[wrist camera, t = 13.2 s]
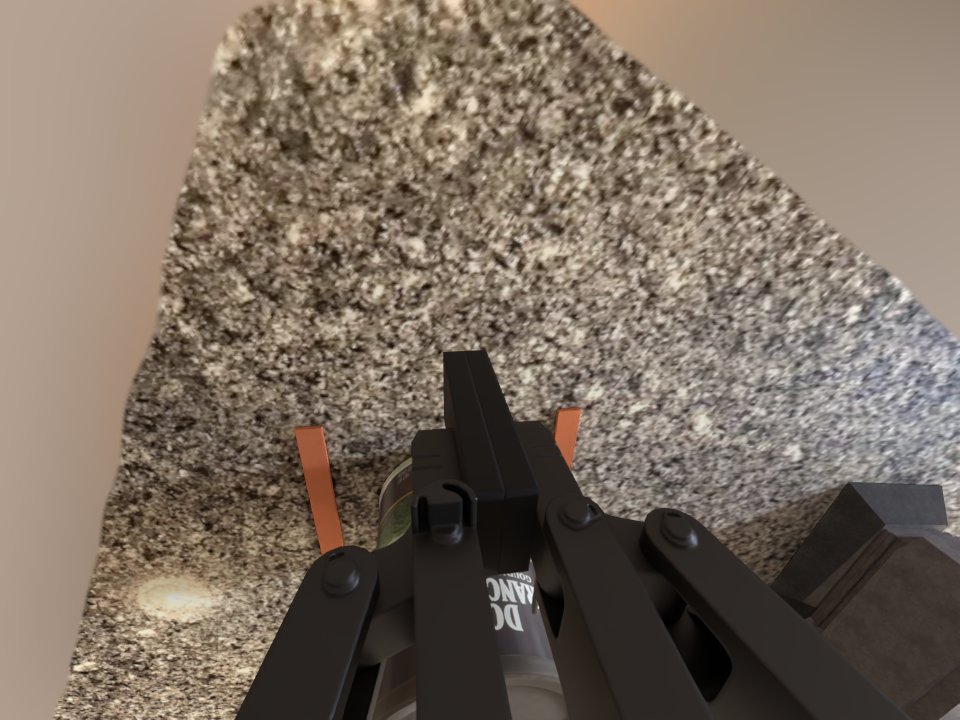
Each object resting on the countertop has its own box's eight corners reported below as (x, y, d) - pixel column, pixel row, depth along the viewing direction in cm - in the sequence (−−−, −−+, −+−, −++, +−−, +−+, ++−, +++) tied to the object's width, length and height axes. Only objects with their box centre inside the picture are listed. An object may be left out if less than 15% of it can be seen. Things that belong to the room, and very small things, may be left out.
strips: (295, 427, 25) (294, 430, 25) (579, 407, 28) (581, 409, 28) (323, 557, 31) (322, 560, 30) (559, 529, 34) (560, 532, 33)
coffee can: (385, 438, 27) (368, 685, 14) (532, 448, 29) (626, 668, 17) (370, 547, 31) (346, 810, 19) (499, 548, 33) (554, 782, 21)
